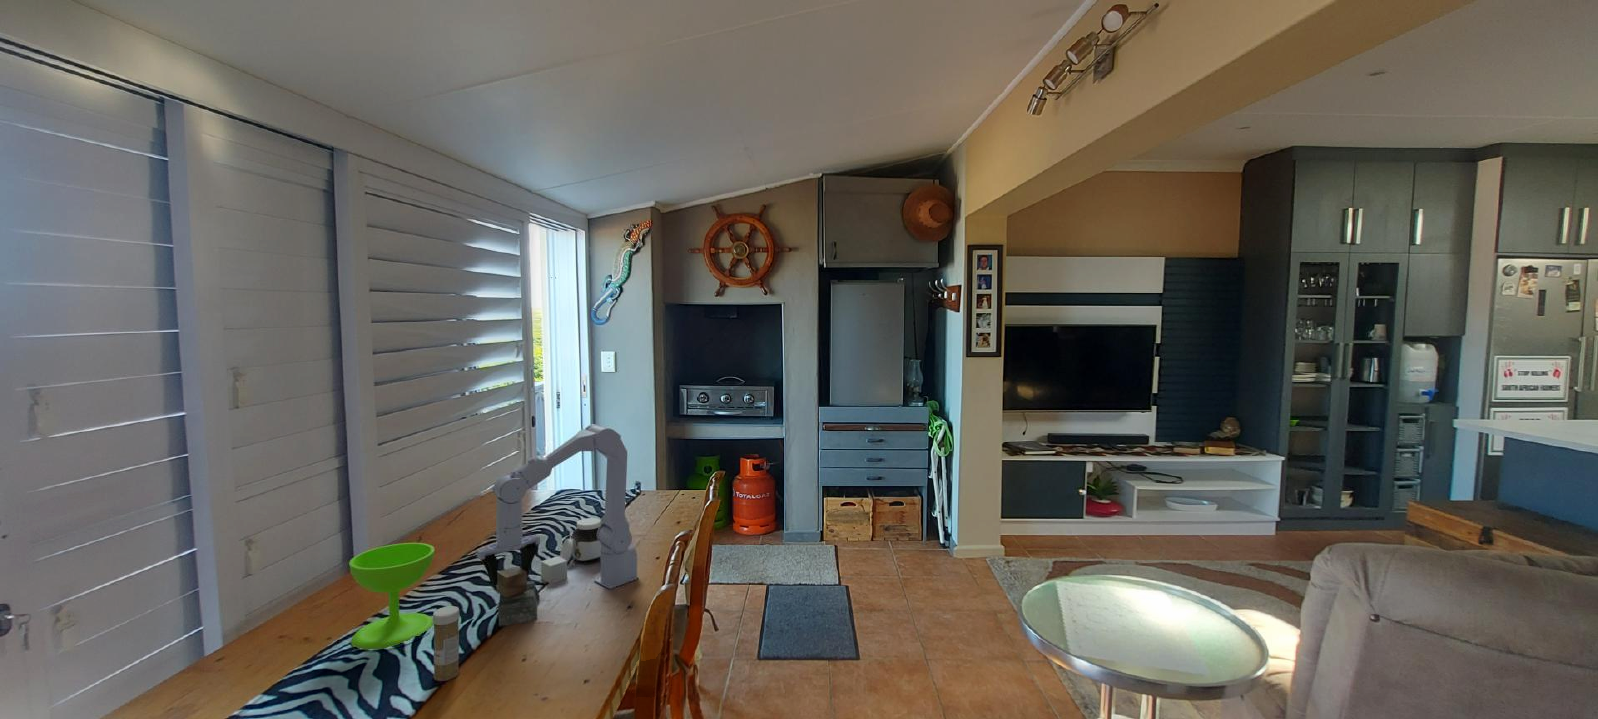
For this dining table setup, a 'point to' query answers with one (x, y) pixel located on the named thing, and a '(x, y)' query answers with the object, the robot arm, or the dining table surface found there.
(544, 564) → the grey cube
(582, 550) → the spread jar
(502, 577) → the walnut cube
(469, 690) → the dining table surface
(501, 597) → the stone block
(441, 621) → the sprinkles bottle
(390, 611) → the wineglass
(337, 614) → the dining table surface
